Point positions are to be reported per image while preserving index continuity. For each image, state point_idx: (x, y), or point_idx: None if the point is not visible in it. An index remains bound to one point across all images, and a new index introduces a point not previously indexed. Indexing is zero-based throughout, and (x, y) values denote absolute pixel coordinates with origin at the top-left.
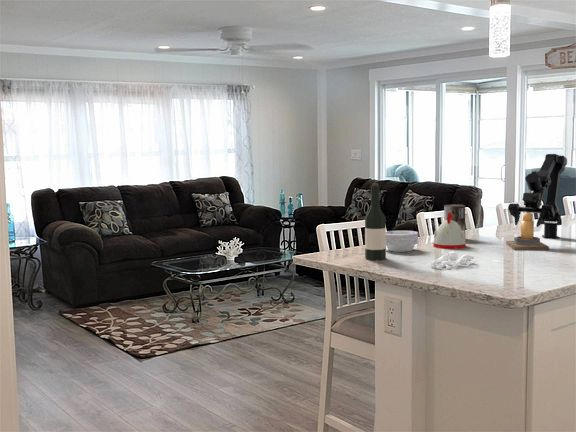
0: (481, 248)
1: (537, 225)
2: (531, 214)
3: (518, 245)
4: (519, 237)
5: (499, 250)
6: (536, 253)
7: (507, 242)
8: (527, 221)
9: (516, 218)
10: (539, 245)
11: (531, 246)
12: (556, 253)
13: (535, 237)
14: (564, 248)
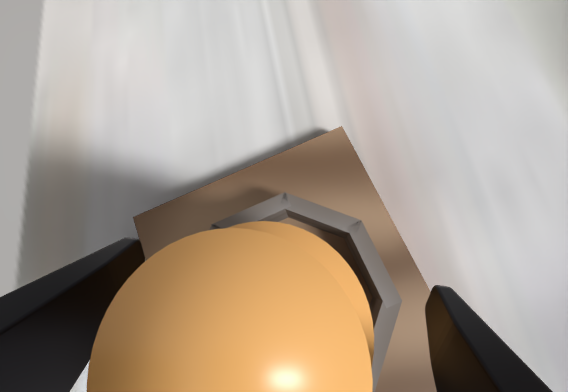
0: (553, 118)
1: (127, 240)
2: (119, 296)
3: (328, 185)
4: None
5: (419, 93)
6: (203, 83)
7: None
8: (244, 223)
9: (490, 366)
10: None
11: (239, 177)
12: (103, 126)
13: None
14: None
